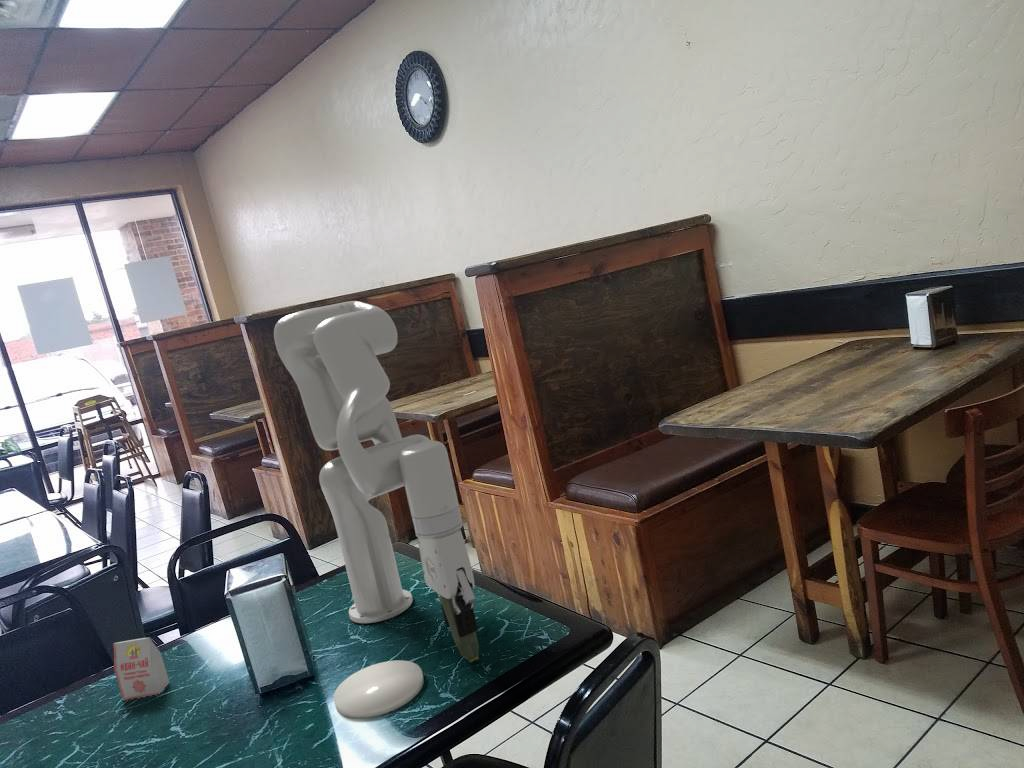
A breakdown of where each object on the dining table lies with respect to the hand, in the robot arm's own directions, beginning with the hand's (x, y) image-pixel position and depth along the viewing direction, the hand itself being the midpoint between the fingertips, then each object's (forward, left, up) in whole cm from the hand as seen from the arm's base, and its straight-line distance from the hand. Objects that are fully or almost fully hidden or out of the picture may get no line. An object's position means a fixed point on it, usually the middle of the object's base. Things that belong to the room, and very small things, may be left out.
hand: (461, 627), depth 125 cm
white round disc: (-4, -14, -6) cm, 16 cm away
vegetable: (0, 0, -7) cm, 7 cm away
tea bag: (-39, -46, -7) cm, 61 cm away
